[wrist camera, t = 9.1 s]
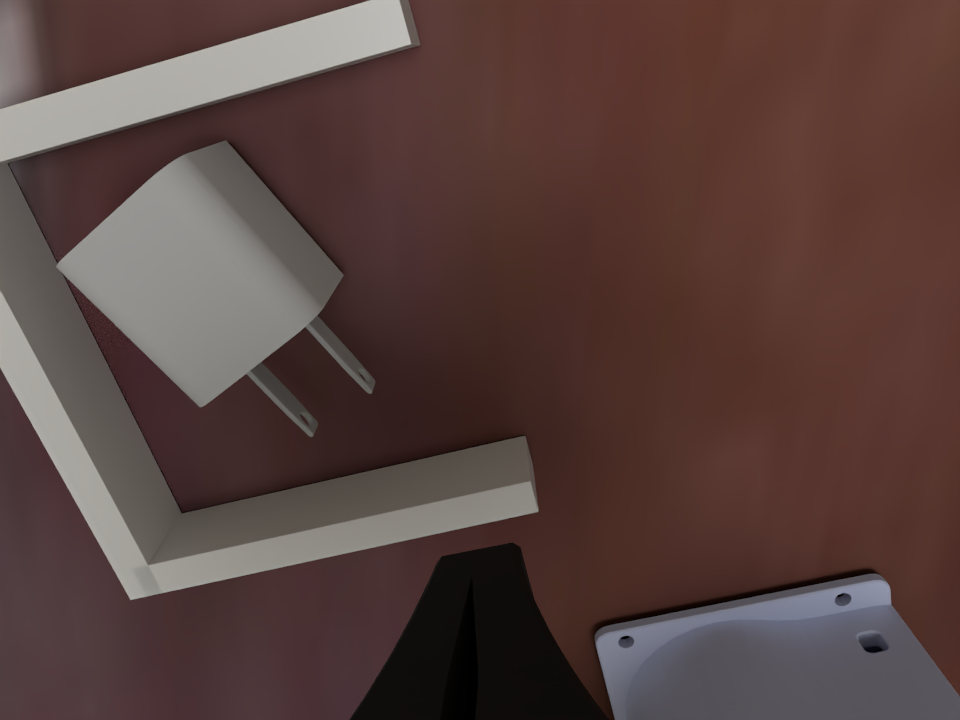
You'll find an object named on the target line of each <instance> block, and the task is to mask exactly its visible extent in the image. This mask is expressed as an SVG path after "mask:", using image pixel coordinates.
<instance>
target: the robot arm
mask: <svg viewBox="0 0 960 720" xmlns="http://www.w3.org/2000/svg"><path fill="white" fill-rule="evenodd" d="M842 593H845V594H844V595H843V596H841V597H838V598H836V597H837V596H838V595H839V594H842ZM623 636H630V637H629V638H627V639H620V638H621V637H623ZM595 643H596V648H597V652H598V656H599V660H600V664H601V668H602V671H603V675H604V679H605V683H606V687H607V691H608V695H609V699H610V702H611V706H612V710H613V714H614V718H615V720H960V696H959V695H958V694H957V692H956V691H955V690H954V688H953V687H952V686H951V684H950V683H949V682H948V680H947V679H946V677H945V676H944V675H943V673H942V672H941V671H940V669H939V668H938V667H937V665H936V664H935V663H934V661H933V660H932V659H931V657H930V656H929V655H928V653H927V652H926V651H925V649H924V648H923V647H922V645H921V644H920V642H919V641H918V640H917V638H916V637H915V636H914V634H913V633H912V632H911V630H910V629H909V628H908V626H907V625H906V624H905V622H904V621H903V620H902V618H901V617H900V616H899V614H898V613H897V612H896V610H895V609H894V608H893V606H892V605H891V591H890V587H889V584H888V583H887V582H886V580H885V579H884V578H883V577H882V576H881V575H878V574H866V575H861V576H856V577H851V578H846V579H841V580H836V581H831V582H826V583H821V584H816V585H810V586H805V587H800V588H795V589H790V590H785V591H780V592H775V593H770V594H765V595H760V596H755V597H750V598H745V599H740V600H735V601H730V602H725V603H720V604H715V605H710V606H704V607H699V608H694V609H689V610H684V611H679V612H674V613H669V614H664V615H659V616H654V617H649V618H644V619H639V620H634V621H629V622H624V623H619V624H614V625H609V626H605V627H602V628H601V629H599V630H598V631H597V632H596V634H595ZM350 720H609V719H608V718H607V717H606V715H605V714H604V713H603V712H602V710H601V709H600V708H599V706H598V705H597V704H596V702H595V701H594V699H593V698H592V697H591V695H590V694H589V693H588V691H587V690H586V688H585V687H584V686H583V684H582V683H581V681H580V680H579V678H578V677H577V675H576V674H575V672H574V671H573V669H572V667H571V666H570V664H569V663H568V661H567V659H566V658H565V656H564V654H563V653H562V651H561V650H560V648H559V646H558V645H557V643H556V641H555V639H554V637H553V636H552V634H551V632H550V630H549V628H548V626H547V624H546V622H545V620H544V618H543V616H542V614H541V612H540V610H539V608H538V606H537V604H536V602H535V600H534V597H533V593H532V589H531V586H530V582H529V578H528V574H527V570H526V567H525V563H524V559H523V555H522V551H521V548H520V547H519V546H517V545H516V544H514V543H508V544H503V545H498V546H493V547H488V548H483V549H477V550H472V551H467V552H462V553H457V554H452V555H446V556H442V557H441V558H440V560H439V561H438V562H437V564H436V566H435V569H434V571H433V573H432V575H431V577H430V579H429V582H428V584H427V586H426V588H425V590H424V592H423V594H422V596H421V598H420V600H419V602H418V604H417V606H416V608H415V610H414V612H413V614H412V616H411V618H410V620H409V622H408V624H407V626H406V628H405V629H404V631H403V633H402V635H401V637H400V639H399V640H398V642H397V644H396V646H395V648H394V650H393V651H392V653H391V655H390V657H389V658H388V660H387V662H386V663H385V665H384V667H383V668H382V670H381V671H380V673H379V675H378V676H377V678H376V680H375V681H374V683H373V685H372V686H371V688H370V689H369V691H368V693H367V694H366V696H365V697H364V699H363V700H362V702H361V703H360V705H359V706H358V708H357V709H356V711H355V712H354V714H353V715H352V717H351V718H350Z"/></svg>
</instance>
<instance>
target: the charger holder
mask: <svg viewBox="0 0 960 720" xmlns="http://www.w3.org/2000/svg"><path fill="white" fill-rule="evenodd" d="M416 46H420V41H419V38H418V34H417V30H416V27H415V23H414V19H413V15H412V12H411V8H410V4H409V0H370V1H366V2H363V3H359V4H356V5H353V6H349V7H346V8H342V9H339V10H336V11H332V12H329V13H325V14H322V15H319V16H315V17H312V18H308V19H305V20H302V21H298V22H295V23H291V24H288V25H285V26H281V27H278V28H274V29H271V30H268V31H264V32H261V33H257V34H254V35H251V36H247V37H244V38H241V39H237V40H234V41H230V42H227V43H224V44H220V45H217V46H213V47H210V48H207V49H203V50H200V51H196V52H193V53H190V54H186V55H183V56H179V57H176V58H173V59H169V60H166V61H162V62H159V63H156V64H152V65H149V66H145V67H142V68H139V69H135V70H132V71H128V72H125V73H122V74H118V75H115V76H111V77H108V78H105V79H101V80H98V81H94V82H91V83H88V84H84V85H81V86H77V87H74V88H71V89H67V90H64V91H60V92H57V93H54V94H50V95H47V96H43V97H40V98H37V99H33V100H30V101H27V102H23V103H20V104H16V105H13V106H10V107H6V108H3V109H0V368H1V370H2V372H3V373H4V375H5V377H6V379H7V380H8V382H9V384H10V386H11V388H12V389H13V391H14V393H15V395H16V397H17V398H18V400H19V402H20V404H21V405H22V407H23V409H24V411H25V413H26V414H27V416H28V418H29V420H30V421H31V423H32V425H33V427H34V429H35V430H36V432H37V434H38V436H39V438H40V439H41V441H42V443H43V445H44V446H45V448H46V450H47V452H48V454H49V455H50V457H51V459H52V461H53V462H54V464H55V466H56V468H57V470H58V471H59V473H60V475H61V477H62V478H63V480H64V482H65V484H66V486H67V487H68V489H69V491H70V493H71V495H72V496H73V498H74V500H75V502H76V503H77V505H78V507H79V509H80V511H81V512H82V514H83V516H84V518H85V519H86V521H87V523H88V525H89V527H90V528H91V530H92V532H93V534H94V536H95V537H96V539H97V541H98V543H99V544H100V546H101V548H102V550H103V552H104V553H105V555H106V557H107V559H108V560H109V562H110V564H111V566H112V568H113V569H114V571H115V573H116V575H117V577H118V578H119V580H120V582H121V584H122V585H123V587H124V589H125V591H126V593H127V594H128V596H129V598H130V600H132V599H137V598H142V597H146V596H151V595H156V594H160V593H165V592H169V591H174V590H179V589H183V588H188V587H193V586H197V585H202V584H207V583H211V582H216V581H220V580H225V579H230V578H234V577H239V576H244V575H248V574H253V573H257V572H262V571H267V570H271V569H276V568H281V567H285V566H290V565H295V564H299V563H304V562H308V561H313V560H318V559H322V558H327V557H332V556H336V555H341V554H345V553H350V552H355V551H359V550H364V549H369V548H373V547H378V546H382V545H387V544H392V543H396V542H401V541H406V540H410V539H415V538H420V537H424V536H429V535H433V534H438V533H443V532H447V531H452V530H457V529H461V528H466V527H470V526H475V525H480V524H484V523H489V522H494V521H498V520H503V519H508V518H512V517H517V516H521V515H526V514H531V513H535V512H539V510H538V502H537V494H536V486H535V478H534V470H533V463H532V459H531V456H530V452H529V448H528V444H527V441H526V437H525V436H521V437H517V438H512V439H508V440H503V441H499V442H495V443H490V444H486V445H481V446H477V447H473V448H468V449H464V450H459V451H455V452H451V453H446V454H442V455H437V456H433V457H429V458H424V459H420V460H415V461H411V462H407V463H402V464H398V465H393V466H389V467H384V468H380V469H376V470H371V471H367V472H362V473H358V474H354V475H349V476H345V477H340V478H336V479H332V480H327V481H323V482H318V483H314V484H310V485H305V486H301V487H296V488H292V489H288V490H283V491H279V492H274V493H270V494H266V495H261V496H257V497H252V498H248V499H244V500H239V501H235V502H230V503H226V504H222V505H217V506H213V507H208V508H204V509H200V510H195V511H191V512H186V513H181V511H180V509H179V507H178V505H177V503H176V501H175V499H174V497H173V495H172V493H171V491H170V489H169V487H168V485H167V483H166V481H165V479H164V477H163V475H162V473H161V471H160V469H159V467H158V465H157V463H156V461H155V459H154V457H153V455H152V453H151V451H150V449H149V447H148V445H147V443H146V441H145V439H144V437H143V435H142V433H141V431H140V429H139V427H138V425H137V423H136V421H135V419H134V417H133V415H132V413H131V411H130V409H129V407H128V405H127V403H126V401H125V398H124V396H123V394H122V392H121V390H120V388H119V386H118V384H117V382H116V380H115V378H114V376H113V374H112V372H111V370H110V368H109V366H108V364H107V362H106V360H105V358H104V356H103V354H102V352H101V350H100V348H99V346H98V344H97V342H96V340H95V338H94V336H93V334H92V332H91V330H90V328H89V326H88V324H87V322H86V320H85V318H84V316H83V314H82V312H81V310H80V308H79V306H78V304H77V302H76V300H75V298H74V296H73V294H72V292H71V290H70V288H69V286H68V284H67V282H66V280H65V278H64V276H63V274H62V272H61V271H60V270H59V269H57V268H56V266H57V262H56V260H55V258H54V256H53V254H52V252H51V250H50V248H49V246H48V244H47V242H46V240H45V238H44V236H43V234H42V232H41V230H40V228H39V226H38V224H37V222H36V220H35V218H34V216H33V214H32V212H31V210H30V208H29V206H28V204H27V202H26V200H25V198H24V196H23V194H22V192H21V190H20V188H19V186H18V184H17V182H16V180H15V178H14V176H13V174H12V172H11V170H10V168H9V166H8V164H7V163H10V162H14V161H17V160H21V159H24V158H28V157H31V156H35V155H38V154H42V153H45V152H49V151H52V150H56V149H59V148H63V147H66V146H70V145H73V144H77V143H80V142H84V141H87V140H91V139H94V138H98V137H101V136H105V135H108V134H112V133H115V132H119V131H122V130H126V129H129V128H133V127H136V126H140V125H143V124H147V123H150V122H154V121H157V120H161V119H164V118H168V117H171V116H175V115H178V114H182V113H185V112H189V111H192V110H196V109H199V108H203V107H206V106H210V105H213V104H217V103H220V102H224V101H227V100H231V99H234V98H238V97H241V96H245V95H248V94H252V93H255V92H259V91H262V90H266V89H269V88H273V87H276V86H280V85H283V84H287V83H290V82H294V81H297V80H301V79H304V78H308V77H311V76H315V75H318V74H322V73H325V72H329V71H332V70H336V69H339V68H343V67H346V66H350V65H353V64H357V63H360V62H364V61H367V60H371V59H374V58H378V57H381V56H385V55H388V54H392V53H395V52H399V51H402V50H406V49H409V48H413V47H416Z"/></svg>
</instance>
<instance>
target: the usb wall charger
mask: <svg viewBox="0 0 960 720" xmlns="http://www.w3.org/2000/svg"><path fill="white" fill-rule="evenodd" d="M56 268H57V269H59V270H60V271H61V272H62V273H63V274H64V275H65V276H66V277H67V278H68V279H69V280H70V281H71V282H72V283H73V284H74V285H75V286H76V287H77V288H78V289H79V290H80V291H81V292H82V293H83V294H84V295H85V296H86V297H87V298H88V299H89V300H90V301H91V302H92V303H93V304H94V305H95V306H96V307H97V308H99V309H100V310H101V311H102V312H103V313H104V314H105V315H106V316H107V317H108V318H109V319H110V320H111V321H112V322H113V323H114V324H115V325H116V326H117V327H118V328H119V329H120V330H121V331H122V332H123V333H124V334H125V335H126V336H127V337H128V338H129V339H130V340H131V341H132V342H133V343H134V344H135V345H136V346H137V347H139V348H140V349H141V350H142V351H143V352H144V353H145V354H146V355H147V356H148V357H149V358H150V359H151V360H152V361H153V362H154V363H155V364H156V365H157V366H158V367H159V368H160V369H161V370H162V371H163V372H164V373H165V374H166V375H167V376H168V377H169V378H170V379H171V380H172V381H173V382H174V383H175V384H176V385H178V386H179V387H180V388H181V389H182V390H183V391H184V392H185V393H186V394H187V395H188V396H189V397H190V398H191V399H192V400H193V401H194V402H195V403H196V404H197V405H198V406H199V407H203V406H205V405H206V404H208V403H209V402H210V401H212V400H213V399H214V398H216V397H217V396H218V395H219V394H221V393H222V392H223V391H224V390H226V389H227V388H228V387H230V386H231V385H232V384H233V383H235V382H236V381H237V380H239V379H240V378H241V377H242V376H244V375H245V374H247V375H248V376H249V377H250V378H251V379H252V380H253V381H254V382H255V383H256V384H257V385H258V386H259V387H260V388H261V389H262V390H263V391H264V392H265V393H266V394H267V395H268V397H269V398H270V399H271V400H272V401H273V402H274V403H275V404H276V405H277V406H278V407H279V408H280V409H281V410H282V411H283V412H284V413H285V414H286V415H287V416H288V417H289V418H290V419H291V420H292V421H294V422H295V423H296V424H297V425H298V426H299V427H300V428H301V429H302V430H303V431H304V432H305V433H306V434H307V435H308V436H310V437H313V436H314V433H315V431H316V429H317V427H318V422H317V421H316V420H315V419H314V417H313V416H312V415H311V414H310V413H309V412H308V411H307V410H306V409H305V407H304V406H303V405H302V404H301V403H300V402H299V401H298V400H297V398H296V397H295V396H294V395H293V394H292V393H291V392H290V391H289V390H288V389H287V388H286V387H285V386H284V385H283V384H282V383H281V382H280V381H279V380H278V379H277V378H276V377H275V376H274V375H273V374H272V373H271V372H270V371H269V369H268V368H267V367H266V366H265V365H264V364H263V363H262V361H263V360H264V359H265V358H267V357H268V356H269V355H271V354H272V353H273V352H274V351H276V350H277V349H278V348H280V347H281V346H282V345H283V344H285V343H286V342H287V341H289V340H290V339H291V338H292V337H294V336H295V335H296V334H297V333H299V332H300V331H301V330H302V329H303V328H304V327H306V328H307V329H308V331H309V332H310V333H311V334H312V335H313V336H314V337H315V338H316V339H317V340H318V341H319V342H320V344H321V345H322V346H323V347H324V348H325V349H326V350H327V351H328V352H329V353H330V354H331V356H332V357H333V358H334V359H335V360H336V361H337V362H338V363H339V364H340V365H341V366H342V367H343V369H344V370H345V371H346V372H347V373H348V374H349V375H350V376H351V377H352V378H353V379H354V380H355V381H356V382H357V383H358V384H359V385H360V386H361V387H362V388H363V389H364V390H365V391H366V392H367V393H368V394H372V392H373V389H374V386H375V383H376V382H375V380H374V379H373V377H372V376H371V375H370V374H369V373H368V371H367V370H366V369H365V368H364V367H363V366H362V364H361V363H360V362H359V361H358V360H357V359H356V357H355V356H354V355H353V354H352V353H351V352H350V351H349V350H348V349H347V347H346V346H345V345H344V344H343V343H342V342H341V341H340V340H339V339H338V338H337V336H336V335H335V334H334V333H333V332H332V331H331V330H330V329H329V328H328V327H327V325H326V324H325V323H324V322H323V321H322V320H321V319H320V318H319V317H318V316H317V315H318V314H319V313H320V312H321V310H322V309H323V308H324V306H325V305H326V303H327V302H328V300H329V298H330V297H331V295H332V294H333V292H334V290H335V289H336V287H337V286H338V284H339V282H340V281H341V279H342V278H343V276H344V275H343V273H342V272H341V271H340V270H339V269H338V268H337V267H336V265H335V264H334V263H333V262H332V261H331V260H330V259H329V257H328V256H327V255H326V254H325V253H324V252H323V251H322V249H321V248H320V247H319V246H318V245H317V244H316V243H315V241H314V240H313V239H312V238H311V237H310V236H309V235H308V233H307V232H306V231H305V230H304V229H303V228H302V227H301V225H300V224H299V223H298V222H297V221H296V220H295V219H294V217H293V216H292V215H291V214H290V213H289V212H288V211H287V209H286V208H285V207H284V206H283V205H282V204H281V202H280V201H279V200H278V199H277V198H276V197H275V196H274V194H273V193H272V192H271V191H270V190H269V189H268V188H267V186H266V185H265V184H264V183H263V182H262V181H261V180H260V178H259V177H258V176H257V175H256V174H255V173H254V172H253V170H252V169H251V168H250V167H249V166H248V165H247V164H246V162H245V161H244V160H243V159H242V158H241V157H240V156H239V154H238V153H237V152H236V151H235V150H234V149H233V148H232V146H231V145H230V144H229V143H228V142H227V141H226V140H225V141H222V142H219V143H216V144H213V145H211V146H208V147H205V148H202V149H199V150H196V151H193V152H190V153H187V154H184V155H182V156H180V157H179V158H177V159H175V160H174V161H172V162H171V163H169V164H168V165H167V166H165V167H164V168H163V169H161V170H160V171H159V172H158V173H156V174H155V175H154V176H153V177H151V178H150V179H149V180H148V181H147V182H146V183H145V184H144V185H143V186H141V187H140V188H139V189H138V190H137V191H136V192H135V193H134V194H133V195H132V196H131V197H129V198H128V199H127V200H126V201H125V202H124V203H123V204H122V205H121V206H120V207H118V208H117V209H116V210H115V211H114V212H113V213H112V214H111V215H110V216H109V217H107V218H106V219H105V220H104V221H103V222H102V223H101V224H100V225H99V226H98V227H97V228H95V229H94V230H93V231H92V232H91V233H90V234H89V235H88V236H87V237H86V238H84V239H83V240H82V241H81V242H80V243H79V244H78V245H77V246H76V247H75V248H73V249H72V250H71V251H70V252H69V253H68V254H67V255H66V256H65V257H64V258H63V259H62V260H61V261H60V262H59V263H58V264H57V266H56ZM359 373H361V374H362V376H363V377H364V378H365V380H366V382H365V381H364V380H363V379H362V377H361V376H360V374H359ZM300 414H301V415H303V416H304V417H305V418H306V420H307V421H308V423H309V426H308V425H306V424H305V423H304V422H303V420H302V419H301V416H300Z"/></svg>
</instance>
